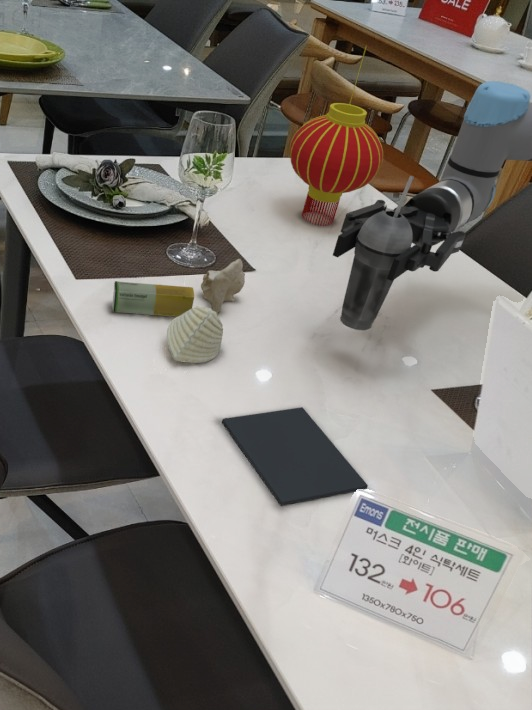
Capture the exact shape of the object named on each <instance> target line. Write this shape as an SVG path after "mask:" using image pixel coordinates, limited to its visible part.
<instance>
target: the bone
mask: <svg viewBox="0 0 532 710" xmlns="http://www.w3.org/2000/svg"><path fill="white" fill-rule="evenodd" d="M243 267H244V264H243V261H242V259H241V258H237V259H235V261H232V262H230V263H229V264H228V265H227V266H225V268H223V269H221V270H211V269H210V270H207V272H206V273H204V274H203V276H202V277H203V278H202V283H201V284H200V289H201V290H202V293H203V295H202V297H203V299H206V301H208V302H209V303H210V304H211V309H212V310H213V311H215V312H216V313H217V314H219V313H220V312H221V309H222V305H223V303H224V302H235V301H236V299H235V298H234V296H235V295H237V294H239V293H240V292H241V291H242V289H243V288H244V285H245V282H246V279H245V276H246V273H244V270H243Z"/></svg>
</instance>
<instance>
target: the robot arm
mask: <svg viewBox="0 0 532 710" xmlns="http://www.w3.org/2000/svg"><path fill="white" fill-rule="evenodd" d="M530 101H531V94H530V91H528V90H527V89H526V88H524V87H521V86H519V85H516V84H513V83H509V82H504V81H498V80H489V81H484V82H483V83H481V84H480V85H478V87H477V88H476V89H475V92H474V94H473V96H472V98H471V99H470V102H469V104H468V107H467V108H466V111H465V113H464V115H463V121H462V123H461V126H460V129H459V131H458V134H457V137H456V140H455V142H454V146H453V149H452V151H451V154H450V155H449V158H448V160H447V162H446V165H445V168H444V169H443V173H442V174H441V177H440V180H439V181H438V182H437V183H435V184H433V185H431V186H429V187H428V188H426V189H423V190H422V191H420V192H419V193H417V194H415V195H413V196H412V197H411V198H410V199H408V201H406V203H405V204H404V205H402V207H401V209H400V212H399V213H400V214H402V215H403V216H404V217H405V218H406V219H407V220H408V222H409V224H410V226H411V229H412V233H413V239H412V244H413V245H412V246H411V248H410V249H408V250H407V251H405V252H404V253H402V254H401V255H399V256H397V257H396V258H394V261H393V263H392V266H391V269H390V272H389V274H388V277H387V279H388V280H391V281H393V280H394V281H395V280H396V279H397V278H399V277H400V276H401V275H403V274H404V273H407V271H409V272H416V271H418V269H420V268H421V269H422V268H424V267H425V266H427V267H428V268H429V270H430V271H432V272H439V271H440V270H441V268H442V267H443V266H444V264H445V263H446V262H447V260H448V259H449V258H450V257H451V256H452V254H456V253H459V252H460V250H461V248H462V245H463V243H464V240H465V238H466V235H467V233H466V232H465V231H460V229H461V228H462V227H464V226H465V225H466V224H468V223H470V222H472V221H475V220H476V219H478V218H479V217H480V216H481V215H482V214H483V213H485V212H486V211H487V209H488V208H489V207H490V206H491V204H492V202H493V201H494V199H495V197H496V191H497V188H496V180H497V177H498V175H499V174H500V171H501V169H502V168H503V165H504V163H505V161H506V160H507V161H522V162H532V102H530ZM396 209H397V206H396V207H394V209H392V208H389V207H388V205H387V204H386V201H385V200H383V199H377V200H376V201H375V202H374V203H373V204H370V205H367V206H365V207H364V206H363V207H361V208H358V209H355V210H352V211H350V212H349V211H348V212H346V213H345V216H344V220H343V222H342V225H341V229H340V234H338V236H337V239H336V243H335V245H334V250H333V252H332V256H333V257H335V258H340V257H341V256H343V255H345V254H347V253H348V252H349V251H351V250H353V249H355V244H356V237H357V235H358V233H359V232H360V229H361V228H362V226H363V224H364V223H365V222H366V221H367V220H368V219H369V218H370V217H371V216H373V215H374V214H376V213H379V212H382V211H396ZM441 242H442V243H441ZM440 243H441V244H440ZM438 244H440V246H438V248H437V249H436V250H435V252H434V251H431V250H432V248H433V247H434V246H436V245H438ZM394 281H393V282H394Z"/></svg>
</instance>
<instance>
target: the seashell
mask: <svg viewBox="0 0 532 710" xmlns="http://www.w3.org/2000/svg"><path fill="white" fill-rule="evenodd" d="M223 325H224V324H223V323H222V321H221V319H220V317H219V313H216V312H215V311H213V309H212V308H211V307H206V306H196V307H192V309H190V310H188V311H187V312H185V313H183V314H182V315H180V316H178V317H176V316H175V317H174V318H173V319H171V321H170V322H169V324H168V327H167V330H166V339H167V344H168V349H169V352H170V354H171V356H172V359H173V360H174V361H176V362H183V363H191V364H197V363H207V362H209V361H211V360H213V359H215V358H216V357H217V356H218V355H219V354H220V351H221V344H222V340H223V335H224V327H223Z"/></svg>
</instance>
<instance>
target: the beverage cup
mask: <svg viewBox="0 0 532 710" xmlns="http://www.w3.org/2000/svg"><path fill="white" fill-rule="evenodd" d="M414 177H415V176H413V175H409V177H408V180H407V182H406V184H405V187H404V189H403V192H402V194H401V197H400V199H399V201H398V204H397V206H396V207H397V209H396V211H382V212H379V213H376V214H374V215H373V216H371V217H370V218H369V219H368V220H367V221H366V222H365V223H364V224H363V226H362V228H361V229H360V232H359V233H358V235H357V237H356V244H355V247H354V251H353V254H354V256H353V261H352V264H351V269H350V273H349V277H348V282H347V285H346V289H345V294H344V299H343V302H342V307H341V312H340V313H341V314H340V317H339V319H340V322H341V323H342V324H343V325H344V326H345V327H348V328H350V329H353V330H357V331H367V330H370V329H371V328H372V326H373V324H374V322H375V320H376V319H377V317H378V315H379V313H380V311H381V308H382V307H383V304H384V302H385V300H386V298H387V297H388V294H389V292H390V289H391V287H392V285H393V283H394V281H395V279H394V280H393V281H391V280H388V279H387V277H388V274H389V272H390V269H391V266H392V263H393V261H394V258H396V257H397V256H399V255H401V254H402V253H404V252H405V251H407V250H408V249H410V248H411V247H412V244H413V243H412V239H413V233H412V229H411V226H410V224H409V222H408V220H407V219H406V218H405V217H404V216H403V215H402V214H400V213H399V212H400V209H401V207H403V204H404V201H405V199H406V197H407V194H408V192H409V190H410V187H411V185H412V182H413V180H414Z"/></svg>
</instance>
